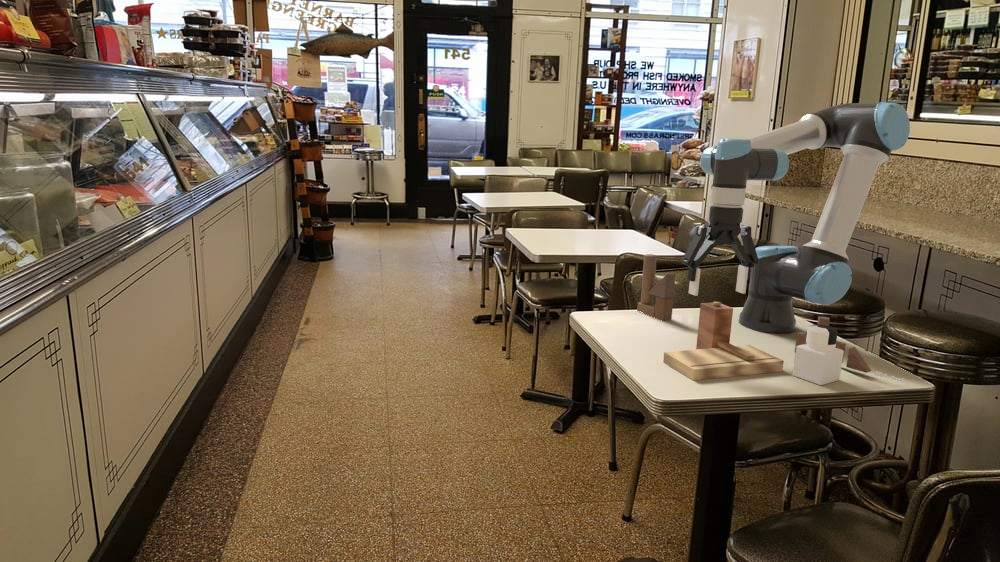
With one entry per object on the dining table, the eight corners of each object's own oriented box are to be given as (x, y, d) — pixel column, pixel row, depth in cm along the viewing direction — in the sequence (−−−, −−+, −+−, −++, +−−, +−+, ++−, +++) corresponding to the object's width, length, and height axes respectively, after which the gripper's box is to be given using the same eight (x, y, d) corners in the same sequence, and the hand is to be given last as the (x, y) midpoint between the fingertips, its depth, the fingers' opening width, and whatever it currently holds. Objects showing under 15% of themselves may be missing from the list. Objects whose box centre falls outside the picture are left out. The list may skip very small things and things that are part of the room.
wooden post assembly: (662, 323, 193) (668, 260, 189) (636, 314, 202) (640, 254, 198) (672, 321, 195) (677, 260, 191) (645, 312, 204) (650, 253, 200)
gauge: (713, 348, 172) (718, 299, 169) (758, 371, 156) (764, 317, 154) (696, 349, 171) (700, 300, 168) (740, 373, 155) (746, 318, 152)
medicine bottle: (810, 370, 158) (817, 320, 155) (840, 380, 152) (847, 328, 149) (791, 375, 154) (798, 324, 152) (821, 386, 148) (828, 333, 146)
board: (748, 354, 168) (749, 344, 167) (782, 371, 157) (783, 360, 156) (663, 362, 160) (664, 351, 160) (693, 380, 149) (694, 369, 149)
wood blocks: (794, 353, 170) (799, 313, 168) (799, 351, 172) (804, 312, 170) (900, 384, 151) (908, 339, 149) (905, 382, 153) (913, 337, 151)
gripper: (759, 204, 168) (749, 288, 173) (672, 203, 160) (663, 291, 165) (781, 207, 161) (769, 295, 166) (690, 207, 153) (681, 299, 158)
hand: (717, 293), depth 165 cm, fingers open, 13 cm apart
